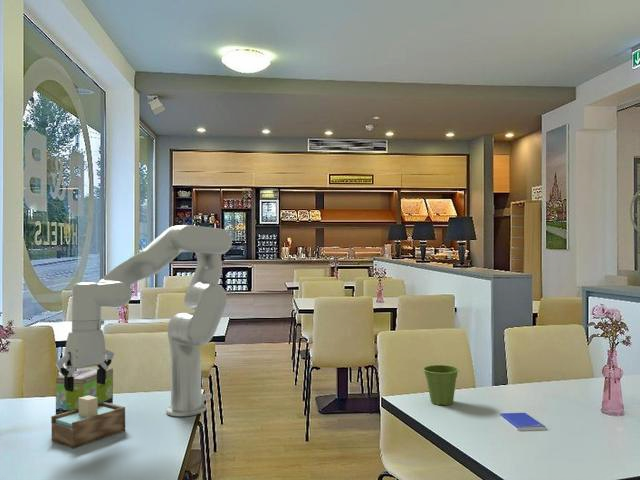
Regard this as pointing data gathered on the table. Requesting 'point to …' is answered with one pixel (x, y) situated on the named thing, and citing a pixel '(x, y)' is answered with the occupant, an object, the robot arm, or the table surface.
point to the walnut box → (89, 427)
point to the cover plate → (76, 417)
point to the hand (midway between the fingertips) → (85, 387)
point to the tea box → (83, 389)
